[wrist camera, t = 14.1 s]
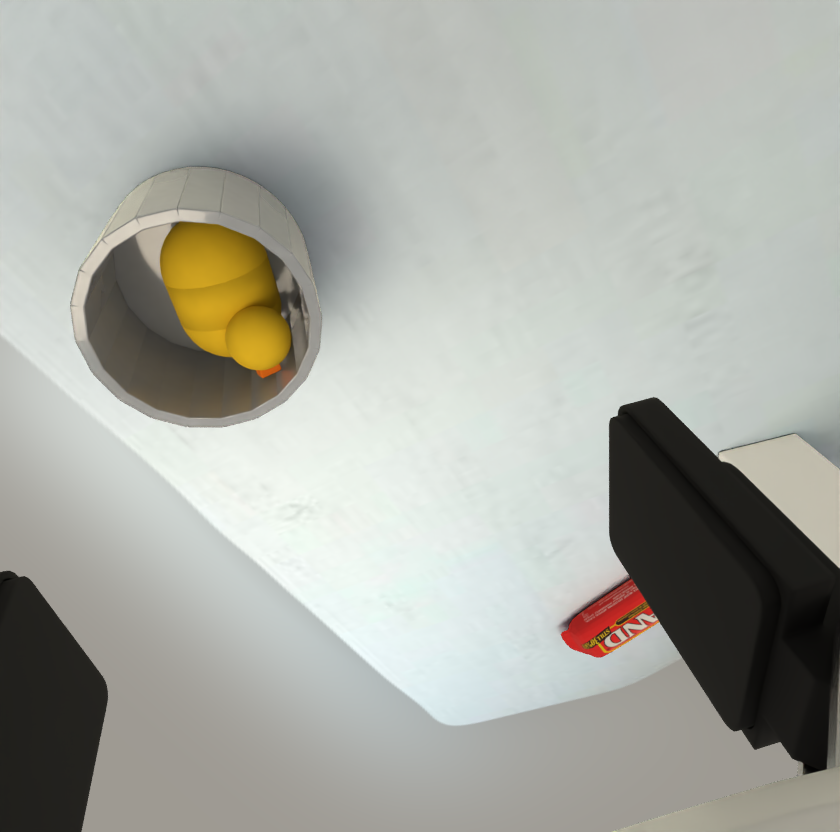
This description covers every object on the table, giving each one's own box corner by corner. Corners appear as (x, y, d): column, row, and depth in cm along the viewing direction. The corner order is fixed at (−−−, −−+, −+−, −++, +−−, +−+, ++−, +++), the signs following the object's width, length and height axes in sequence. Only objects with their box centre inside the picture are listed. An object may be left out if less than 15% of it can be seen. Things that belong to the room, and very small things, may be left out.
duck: (129, 222, 28) (176, 253, 24) (227, 190, 30) (287, 213, 26) (186, 358, 32) (235, 407, 28) (270, 322, 34) (329, 362, 30)
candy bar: (726, 508, 50) (750, 536, 47) (742, 533, 52) (766, 560, 49) (552, 623, 53) (567, 655, 50) (573, 642, 55) (589, 673, 52)
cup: (68, 192, 29) (23, 242, 23) (278, 145, 30) (285, 182, 24) (152, 373, 34) (132, 451, 28) (329, 329, 35) (344, 396, 29)
